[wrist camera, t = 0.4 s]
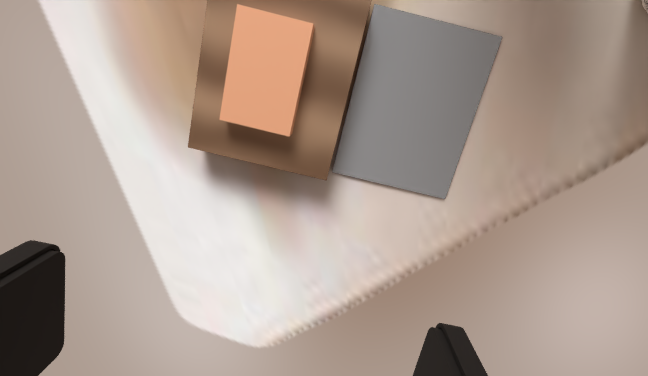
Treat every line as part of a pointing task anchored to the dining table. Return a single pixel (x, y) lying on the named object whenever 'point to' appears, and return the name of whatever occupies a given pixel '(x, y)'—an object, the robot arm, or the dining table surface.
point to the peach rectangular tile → (265, 70)
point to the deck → (316, 95)
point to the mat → (413, 101)
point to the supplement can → (645, 5)
